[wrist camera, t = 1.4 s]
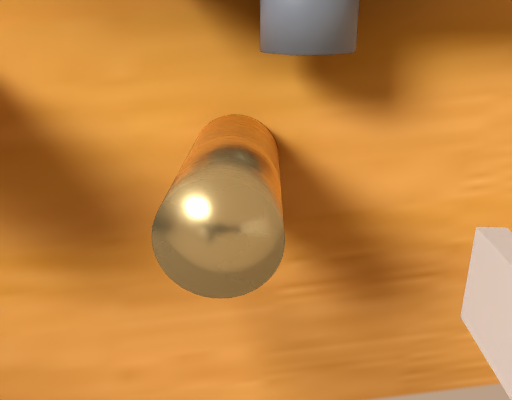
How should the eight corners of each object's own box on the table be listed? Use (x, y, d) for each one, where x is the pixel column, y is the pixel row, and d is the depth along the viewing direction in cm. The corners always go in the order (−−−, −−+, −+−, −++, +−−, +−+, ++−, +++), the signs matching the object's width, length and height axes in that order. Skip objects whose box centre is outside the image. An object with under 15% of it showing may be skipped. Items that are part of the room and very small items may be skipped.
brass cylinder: (196, 195, 24) (157, 298, 15) (191, 114, 22) (145, 178, 14) (277, 196, 24) (283, 298, 15) (278, 114, 22) (286, 178, 14)
